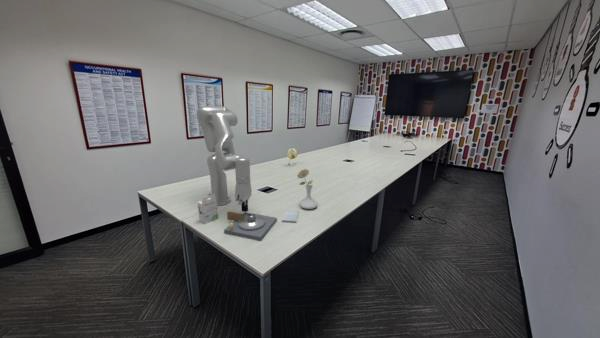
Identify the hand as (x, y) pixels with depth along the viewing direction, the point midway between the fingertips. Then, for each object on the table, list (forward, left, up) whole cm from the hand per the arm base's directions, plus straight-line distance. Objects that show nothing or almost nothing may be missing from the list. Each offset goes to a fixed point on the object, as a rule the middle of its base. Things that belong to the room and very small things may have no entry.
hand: (244, 210), depth 130 cm
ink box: (-18, -8, -5) cm, 20 cm away
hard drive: (+24, +10, -5) cm, 26 cm away
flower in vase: (+29, +26, -5) cm, 39 cm away
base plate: (+8, -7, -5) cm, 11 cm away
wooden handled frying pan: (+4, -7, -2) cm, 9 cm away
